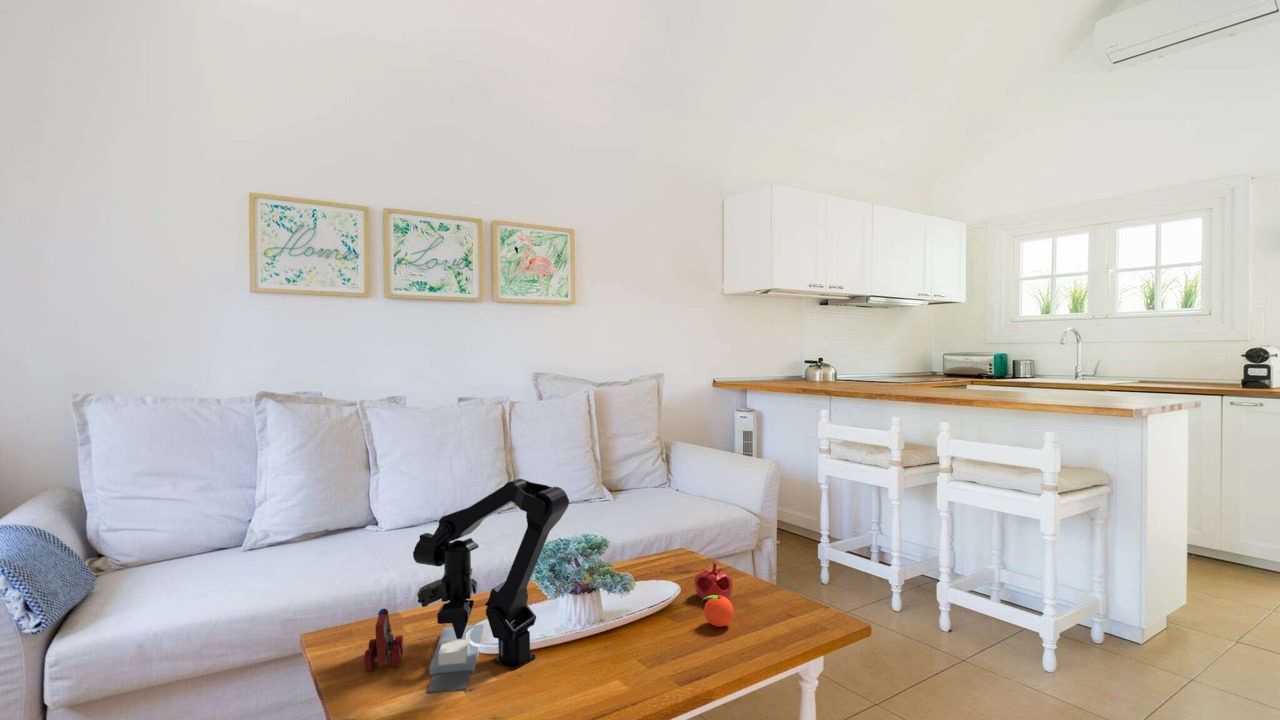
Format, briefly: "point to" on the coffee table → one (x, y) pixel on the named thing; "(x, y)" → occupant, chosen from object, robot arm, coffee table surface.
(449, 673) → the rubber mat
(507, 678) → the coffee table surface
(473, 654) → the grey board
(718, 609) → the clementine
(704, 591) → the pomegranate
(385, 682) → the coffee table surface
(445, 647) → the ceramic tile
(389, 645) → the red toy vehicle
